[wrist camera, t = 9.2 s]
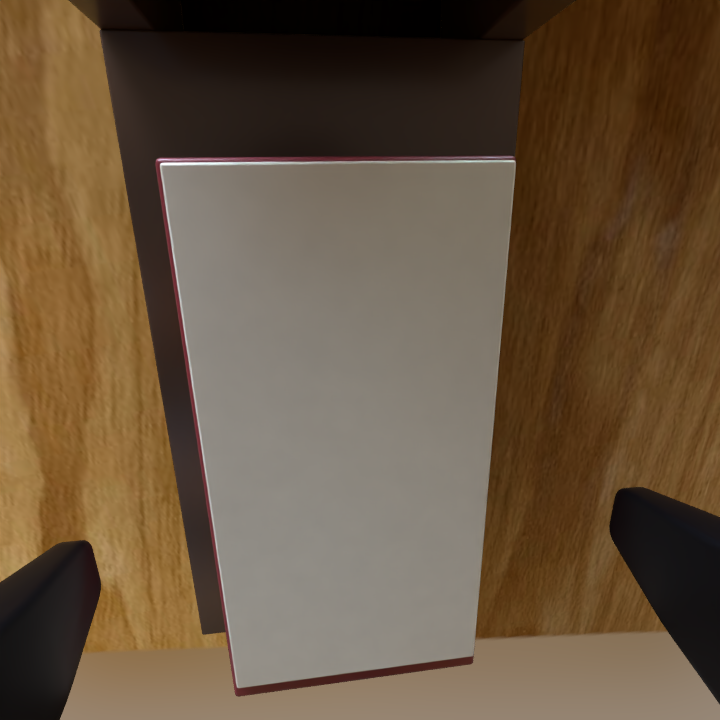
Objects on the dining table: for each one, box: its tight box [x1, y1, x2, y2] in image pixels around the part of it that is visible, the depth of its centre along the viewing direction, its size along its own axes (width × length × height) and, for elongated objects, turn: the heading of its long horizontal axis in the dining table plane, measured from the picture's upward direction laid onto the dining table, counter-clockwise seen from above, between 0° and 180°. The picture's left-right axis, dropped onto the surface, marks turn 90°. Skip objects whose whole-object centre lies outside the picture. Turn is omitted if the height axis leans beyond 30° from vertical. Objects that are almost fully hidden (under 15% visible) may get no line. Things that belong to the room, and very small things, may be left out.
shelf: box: [69, 0, 576, 635], centre depth 11 cm, size 25×10×11 cm, turn 1°
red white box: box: [155, 155, 516, 696], centre depth 11 cm, size 12×6×5 cm, turn 1°
